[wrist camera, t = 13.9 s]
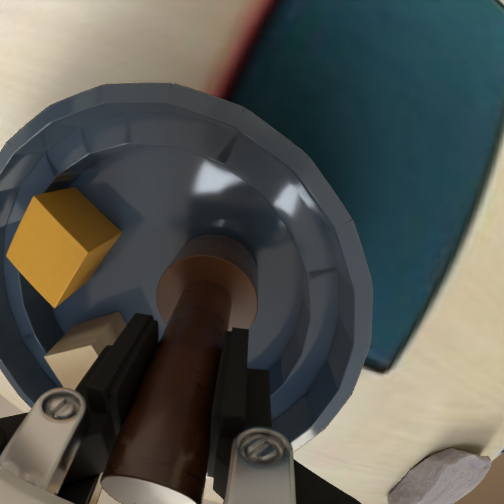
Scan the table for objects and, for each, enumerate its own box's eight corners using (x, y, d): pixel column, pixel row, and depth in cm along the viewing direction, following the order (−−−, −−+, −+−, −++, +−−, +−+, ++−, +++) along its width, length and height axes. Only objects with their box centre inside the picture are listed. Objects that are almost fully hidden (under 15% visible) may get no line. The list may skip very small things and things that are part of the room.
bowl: (30, 112, 15) (-34, 106, 9) (366, 134, 16) (419, 124, 10) (48, 380, 21) (14, 424, 15) (298, 427, 21) (307, 490, 15)
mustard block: (75, 186, 16) (33, 194, 12) (122, 232, 16) (88, 252, 12) (45, 237, 16) (5, 256, 13) (88, 281, 17) (54, 309, 13)
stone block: (422, 438, 24) (378, 502, 25) (445, 464, 20) (393, 528, 20) (483, 433, 26) (443, 491, 26) (505, 451, 21) (460, 511, 22)
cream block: (73, 324, 18) (43, 356, 14) (119, 310, 18) (91, 345, 14) (102, 373, 19) (79, 409, 15) (148, 363, 19) (129, 403, 15)
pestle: (183, 222, 15) (37, 404, 4) (270, 249, 16) (291, 482, 4) (165, 299, 17) (66, 495, 5) (242, 323, 17) (225, 543, 6)
